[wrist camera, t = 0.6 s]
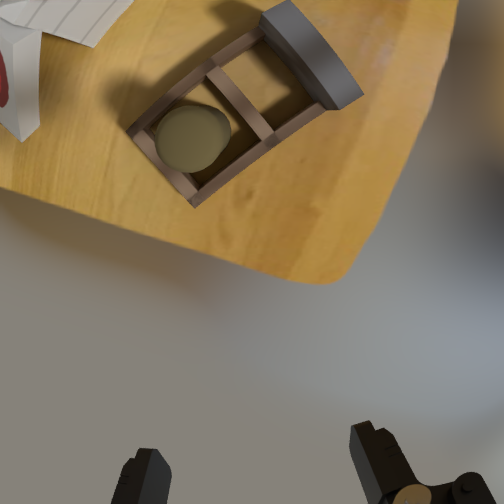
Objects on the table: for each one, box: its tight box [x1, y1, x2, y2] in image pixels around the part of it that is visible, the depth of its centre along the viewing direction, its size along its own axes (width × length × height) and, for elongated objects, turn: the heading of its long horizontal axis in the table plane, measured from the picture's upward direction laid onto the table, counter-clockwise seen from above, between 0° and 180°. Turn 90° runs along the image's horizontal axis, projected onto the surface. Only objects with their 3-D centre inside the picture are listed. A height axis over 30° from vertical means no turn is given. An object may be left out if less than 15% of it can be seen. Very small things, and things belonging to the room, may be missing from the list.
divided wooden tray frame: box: [125, 0, 364, 209], centre depth 24 cm, size 11×20×6 cm, turn 128°
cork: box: [155, 105, 231, 173], centre depth 23 cm, size 6×6×11 cm
